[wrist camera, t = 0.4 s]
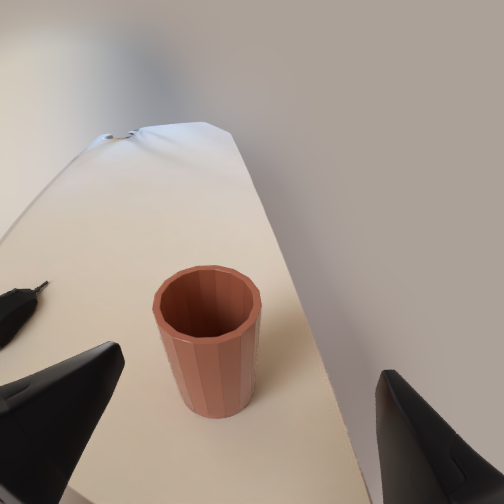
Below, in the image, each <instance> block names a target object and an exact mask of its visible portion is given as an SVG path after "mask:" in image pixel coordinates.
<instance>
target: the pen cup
mask: <svg viewBox="0 0 504 504" xmlns="http://www.w3.org/2000/svg"><path fill="white" fill-rule="evenodd" d="M261 308H262V304H261V298H260V293H259V290H258V288H257V287H256V286H255V285H254V283H253V282H252V281H251V280H250V278H248V277H247V276H245V275H243V274H241V273H240V272H238V271H236V270H234V269H231V268H226V267H222V266H216V265H209V266H195V267H192V268H189V269H185V270H182V271H179V272H177V273H176V274H174V275H173V276H171V277H170V278H168V279H167V280H165V281H164V282H163V284H162V285H161V286H160V288H159V289H158V290H157V292H156V293H155V296H154V302H153V308H152V309H153V314H154V317H155V321H156V324H157V327H158V330H159V334H160V337H161V340H162V343H163V346H164V349H165V352H166V355H167V358H168V361H169V364H170V367H171V370H172V373H173V375H174V378H175V381H176V384H177V386H178V389H179V392H180V394H181V396H182V399H183V400H184V402H185V404H186V405H187V406H188V407H189V408H190V409H191V410H192V411H194V412H195V413H197V414H199V415H201V416H204V417H208V418H225V417H229V416H232V415H234V414H236V413H238V412H240V411H241V410H242V409H243V408H245V406H246V405H247V404H248V403H249V401H250V399H251V397H252V394H253V390H254V384H255V374H256V363H257V353H258V342H259V331H260V319H261Z"/></svg>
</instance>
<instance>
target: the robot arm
mask: <svg viewBox="0 0 504 504" xmlns="http://www.w3.org/2000/svg"><path fill="white" fill-rule="evenodd" d="M124 365H125V360H124V357H123V354H122V351H121V348H120V345H119V344H118V343H115V342H111V341H108V342H106V343H103V344H101V345H99V346H97V347H94V348H92V349H90V350H88V351H85V352H83V353H81V354H78V355H76V356H74V357H72V358H69V359H67V360H65V361H62V362H60V363H58V364H55V365H53V366H51V367H48V368H46V369H44V370H41V371H39V372H37V373H34V374H32V375H29V376H27V377H25V378H22V379H20V380H17V381H14V382H11V383H9V384H6V385H3V386H0V504H59V501H60V499H61V497H62V495H63V493H64V490H65V488H66V486H67V484H68V481H69V480H70V478H71V475H72V473H73V471H74V469H75V467H76V465H77V463H78V461H79V459H80V457H81V455H82V453H83V451H84V449H85V447H86V445H87V443H88V441H89V439H90V437H91V435H92V433H93V431H94V429H95V427H96V426H97V424H98V422H99V420H100V418H101V416H102V414H103V412H104V410H105V409H106V407H107V405H108V403H109V401H110V399H111V397H112V395H113V392H114V390H115V387H116V385H117V382H118V380H119V378H120V375H121V373H122V370H123V368H124ZM375 398H376V433H377V443H378V450H379V459H380V468H381V479H382V489H383V503H384V504H504V475H503V474H502V473H501V472H500V471H498V470H497V469H496V468H494V467H493V466H492V465H491V464H490V463H489V462H487V461H486V460H485V459H484V458H483V457H481V456H480V455H479V454H478V453H477V452H476V451H474V450H473V449H472V448H471V447H470V446H469V445H468V444H467V443H466V442H465V441H464V440H463V439H462V438H461V437H460V436H459V435H458V434H456V432H455V431H454V430H453V429H452V428H451V426H450V425H448V423H447V422H446V421H445V420H443V418H442V417H441V416H440V415H439V414H438V413H437V412H436V411H435V410H434V409H433V408H432V407H431V406H430V405H429V404H428V403H427V402H426V401H425V400H424V399H423V398H422V397H421V396H420V395H419V394H418V393H417V392H416V391H415V390H414V389H413V388H412V387H411V386H410V385H409V384H408V383H407V382H406V381H405V380H404V379H403V378H402V377H401V376H400V375H399V374H398V373H397V372H396V371H395V370H383V371H382V372H381V375H380V378H379V381H378V384H377V387H376V392H375Z"/></svg>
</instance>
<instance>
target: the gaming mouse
mask: <svg viewBox="0 0 504 504" xmlns="http://www.w3.org/2000/svg"><path fill="white" fill-rule="evenodd" d="M47 283H48V281H46V282H44V283H43V284H42V285H41V286H39V287H37V288H35V290H31V289H17V288H14V289H13V290H12V291H8V292H7V293H4V294H2V295H1V296H0V347H2V346H3V345H5V344H6V343H7V342H8V341H9V340H10V339H11V338H12V337H13V335H14V334H15V333H16V332H17V330H18V329H19V328H20V327H21V326H22V324H23V323H24V322H25V321H26V320H27V319H28V317H29V316H30V315H31V314H32V313H33V311H34V309H35V307H36V305H37V299H36V292H39V291H40V289H41V288H42V287H44V286H45V285H46V284H47Z"/></svg>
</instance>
